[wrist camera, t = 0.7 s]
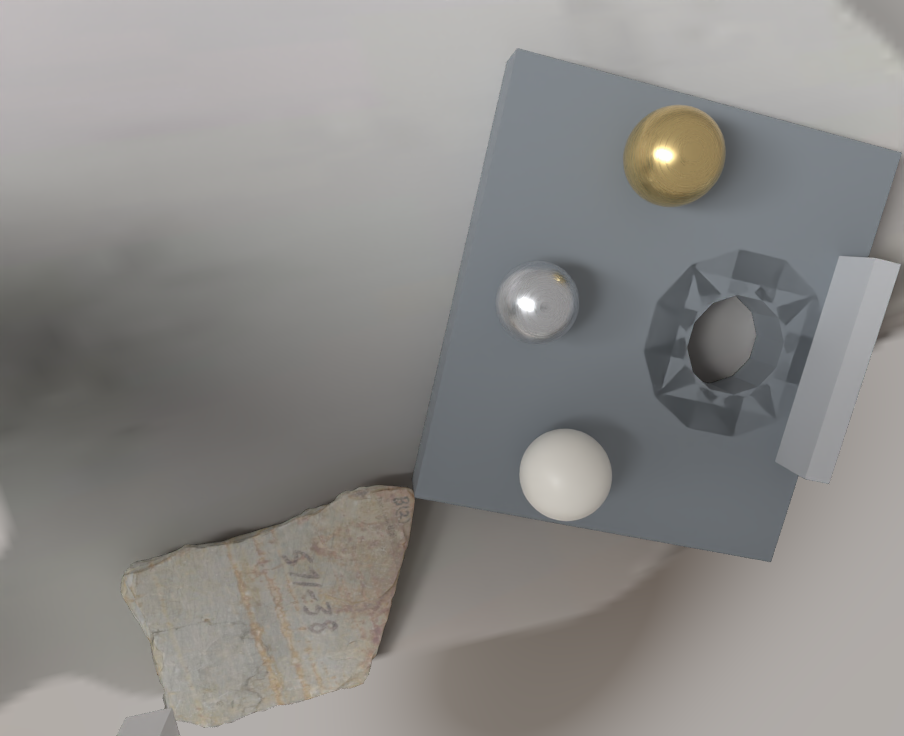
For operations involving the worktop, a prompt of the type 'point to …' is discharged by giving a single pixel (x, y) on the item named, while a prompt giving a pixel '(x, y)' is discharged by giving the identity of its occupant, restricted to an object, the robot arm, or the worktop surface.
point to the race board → (660, 313)
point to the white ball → (565, 474)
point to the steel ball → (537, 302)
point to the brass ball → (674, 155)
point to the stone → (273, 607)
